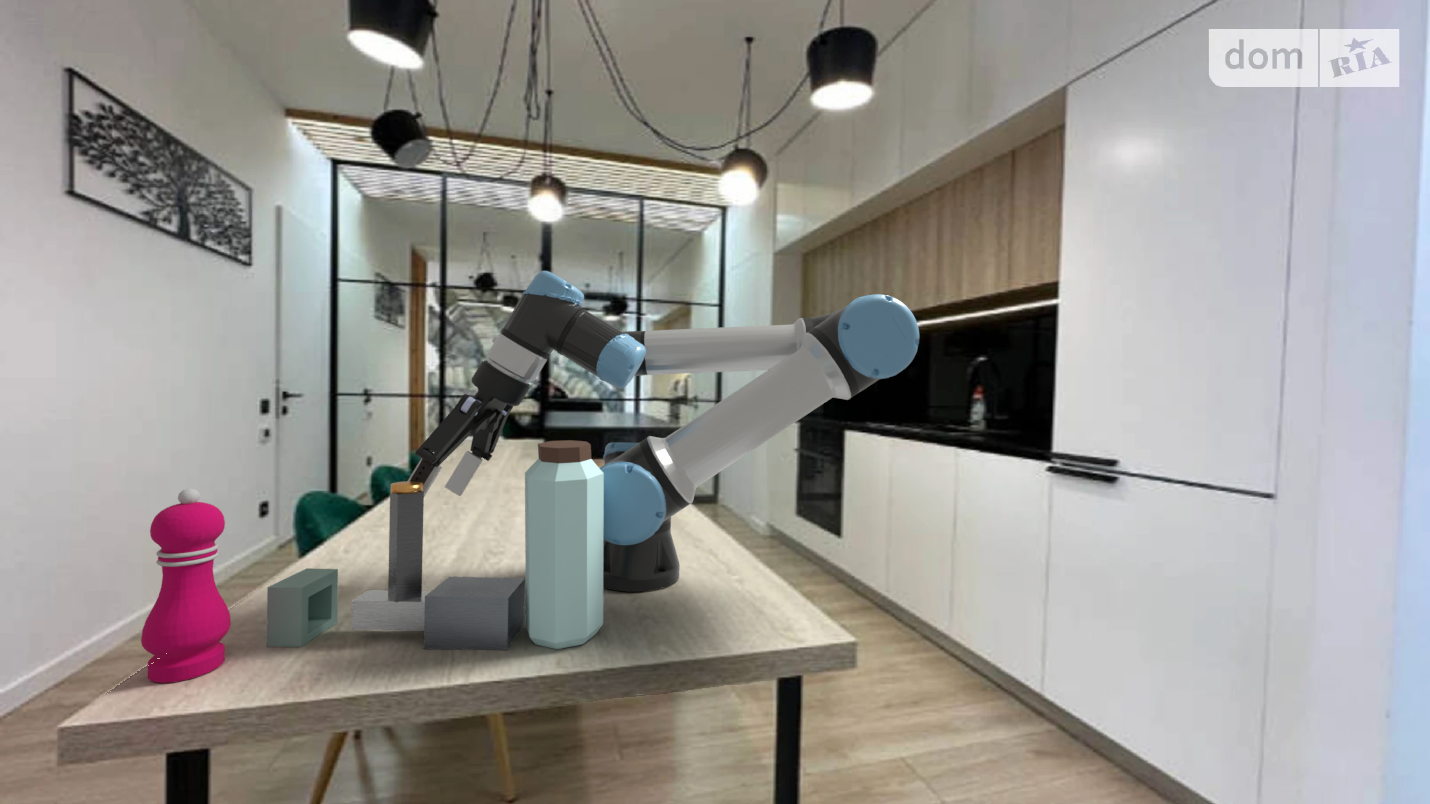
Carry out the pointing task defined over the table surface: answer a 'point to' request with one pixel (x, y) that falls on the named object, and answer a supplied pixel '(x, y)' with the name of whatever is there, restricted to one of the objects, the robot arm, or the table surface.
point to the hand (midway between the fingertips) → (431, 497)
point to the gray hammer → (398, 568)
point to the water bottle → (564, 545)
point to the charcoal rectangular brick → (474, 613)
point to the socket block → (301, 607)
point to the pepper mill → (186, 593)
